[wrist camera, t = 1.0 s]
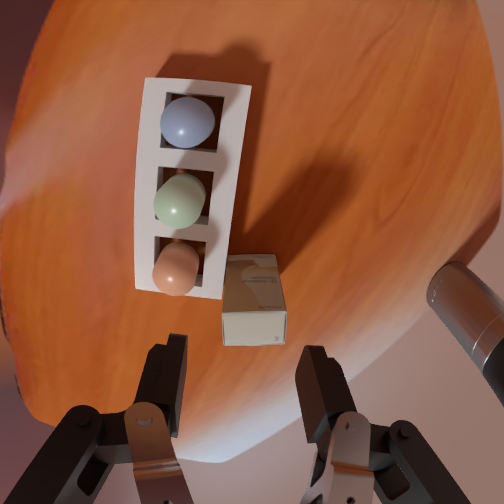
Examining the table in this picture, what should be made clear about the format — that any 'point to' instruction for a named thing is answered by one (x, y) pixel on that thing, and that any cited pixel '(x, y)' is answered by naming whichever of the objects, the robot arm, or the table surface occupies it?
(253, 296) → the skincare box
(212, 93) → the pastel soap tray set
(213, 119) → the blue button
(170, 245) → the terracotta button
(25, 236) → the table surface
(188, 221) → the green button
